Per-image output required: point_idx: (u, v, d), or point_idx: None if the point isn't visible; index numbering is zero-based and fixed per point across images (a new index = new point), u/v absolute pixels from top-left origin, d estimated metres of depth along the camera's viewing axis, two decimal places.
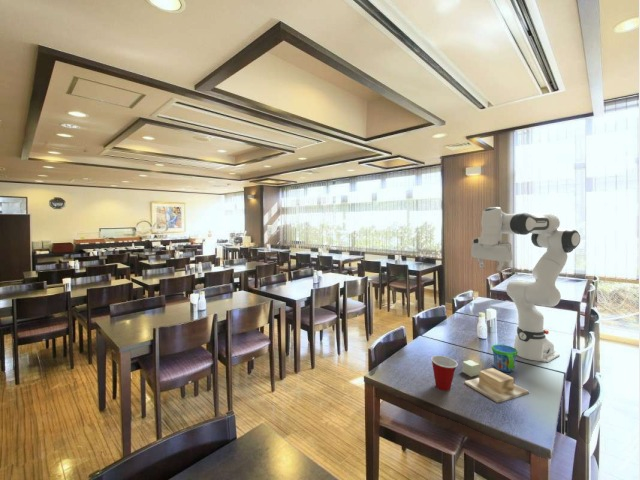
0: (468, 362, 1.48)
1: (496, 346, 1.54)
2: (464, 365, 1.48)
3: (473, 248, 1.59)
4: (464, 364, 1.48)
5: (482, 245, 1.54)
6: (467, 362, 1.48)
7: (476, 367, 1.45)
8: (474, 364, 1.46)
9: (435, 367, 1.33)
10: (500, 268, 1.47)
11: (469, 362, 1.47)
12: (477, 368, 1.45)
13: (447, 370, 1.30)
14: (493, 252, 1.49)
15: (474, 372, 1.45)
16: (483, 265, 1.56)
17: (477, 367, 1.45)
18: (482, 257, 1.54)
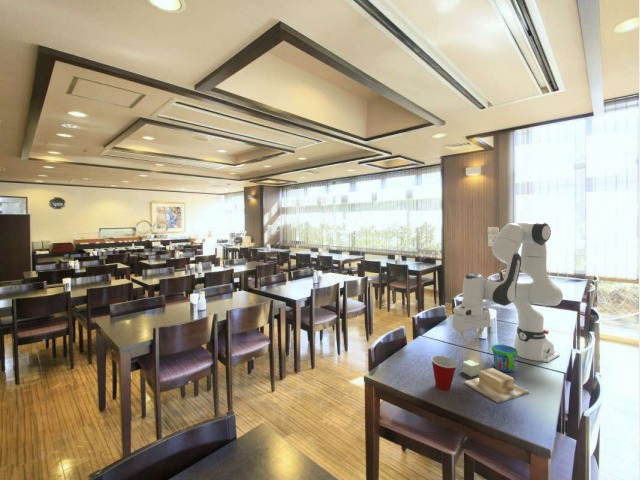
0: (468, 362, 1.48)
1: (496, 346, 1.54)
2: (464, 365, 1.48)
3: (462, 321, 1.41)
4: (464, 364, 1.48)
5: (471, 315, 1.43)
6: (467, 362, 1.48)
7: (476, 367, 1.45)
8: (474, 364, 1.46)
9: (435, 367, 1.33)
10: None
11: (469, 362, 1.47)
12: (477, 368, 1.45)
13: (447, 370, 1.30)
14: (479, 321, 1.45)
15: (474, 372, 1.45)
16: None
17: (477, 367, 1.45)
18: (469, 328, 1.43)
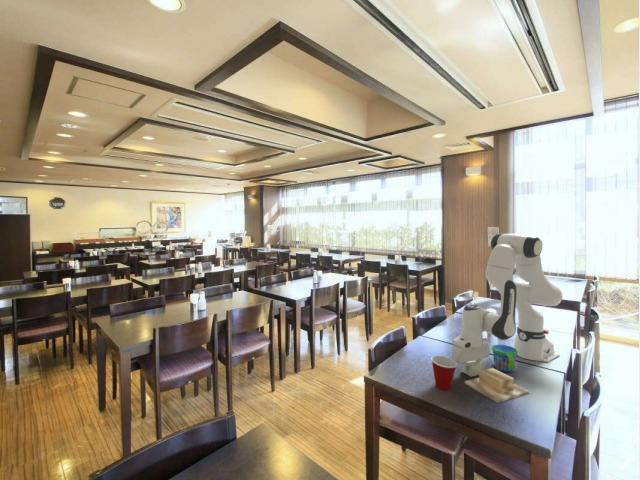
0: (468, 362, 1.48)
1: (496, 346, 1.54)
2: None
3: (461, 353, 1.42)
4: None
5: None
6: (467, 362, 1.48)
7: (476, 367, 1.45)
8: (474, 364, 1.46)
9: (435, 367, 1.33)
10: None
11: (469, 362, 1.47)
12: (477, 368, 1.45)
13: (447, 370, 1.30)
14: (478, 352, 1.46)
15: (474, 372, 1.45)
16: None
17: (477, 367, 1.45)
18: (469, 360, 1.44)
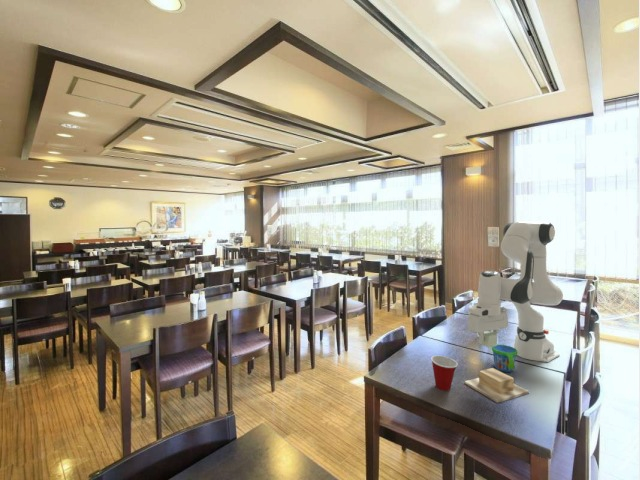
0: (485, 332, 1.38)
1: (496, 346, 1.54)
2: None
3: (478, 322, 1.32)
4: None
5: None
6: (484, 332, 1.38)
7: (494, 337, 1.35)
8: (491, 334, 1.36)
9: (435, 367, 1.33)
10: None
11: (486, 333, 1.37)
12: (495, 338, 1.35)
13: (447, 370, 1.30)
14: (496, 321, 1.36)
15: (492, 343, 1.35)
16: None
17: (495, 337, 1.35)
18: (486, 329, 1.34)
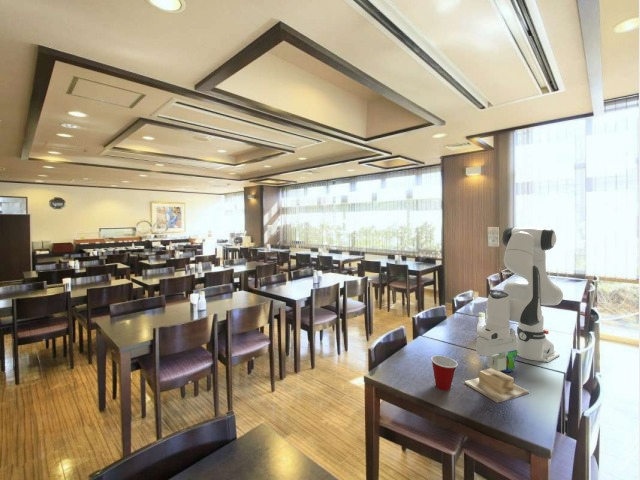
0: (493, 355, 1.34)
1: None
2: None
3: (487, 345, 1.28)
4: None
5: (496, 339, 1.30)
6: None
7: (503, 360, 1.31)
8: (500, 357, 1.32)
9: (435, 367, 1.33)
10: None
11: (495, 356, 1.33)
12: (504, 362, 1.31)
13: (447, 370, 1.30)
14: (505, 344, 1.32)
15: (501, 366, 1.31)
16: None
17: (504, 361, 1.31)
18: (495, 353, 1.30)
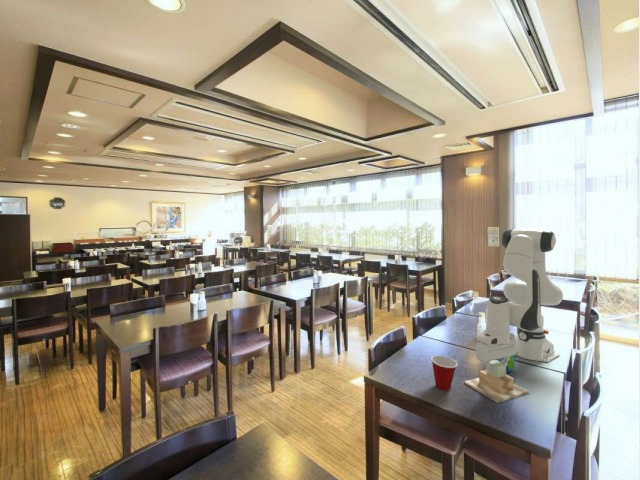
0: (493, 362, 1.34)
1: None
2: None
3: (487, 350, 1.28)
4: None
5: (496, 344, 1.30)
6: (492, 362, 1.34)
7: (503, 367, 1.31)
8: (500, 364, 1.32)
9: (435, 367, 1.33)
10: None
11: (495, 362, 1.34)
12: (504, 369, 1.32)
13: (447, 370, 1.30)
14: (505, 349, 1.32)
15: (501, 373, 1.31)
16: None
17: (504, 368, 1.32)
18: (495, 358, 1.30)
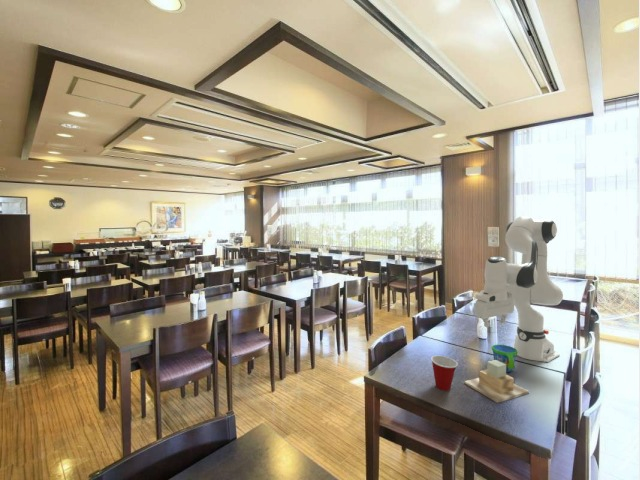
0: (493, 362, 1.34)
1: (496, 346, 1.54)
2: (489, 365, 1.34)
3: (485, 308, 1.33)
4: (489, 364, 1.34)
5: None
6: (492, 362, 1.34)
7: (503, 367, 1.31)
8: (500, 364, 1.32)
9: (435, 367, 1.33)
10: None
11: (495, 362, 1.34)
12: (504, 369, 1.32)
13: (447, 370, 1.30)
14: (503, 307, 1.37)
15: (501, 373, 1.31)
16: None
17: (504, 368, 1.32)
18: (493, 315, 1.35)
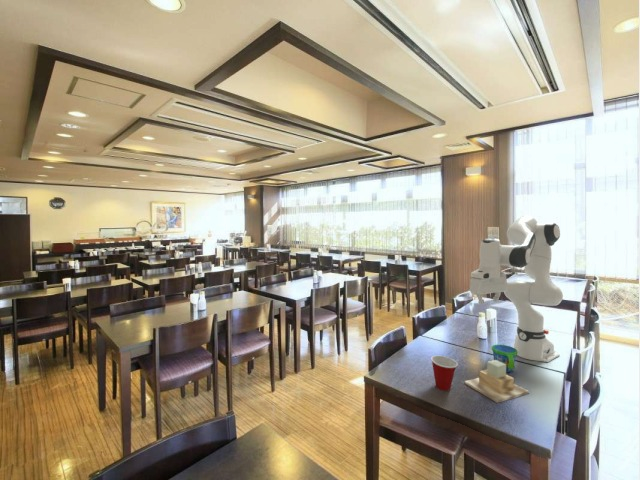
0: (493, 362, 1.34)
1: (496, 346, 1.54)
2: (489, 365, 1.34)
3: (480, 284, 1.42)
4: (489, 364, 1.34)
5: None
6: (492, 362, 1.34)
7: (503, 367, 1.31)
8: (500, 364, 1.32)
9: (435, 367, 1.33)
10: None
11: (495, 362, 1.34)
12: (504, 369, 1.32)
13: (447, 370, 1.30)
14: (496, 285, 1.47)
15: (501, 373, 1.31)
16: None
17: (504, 368, 1.32)
18: (487, 292, 1.45)
